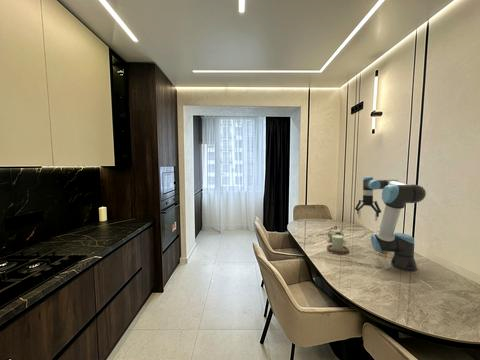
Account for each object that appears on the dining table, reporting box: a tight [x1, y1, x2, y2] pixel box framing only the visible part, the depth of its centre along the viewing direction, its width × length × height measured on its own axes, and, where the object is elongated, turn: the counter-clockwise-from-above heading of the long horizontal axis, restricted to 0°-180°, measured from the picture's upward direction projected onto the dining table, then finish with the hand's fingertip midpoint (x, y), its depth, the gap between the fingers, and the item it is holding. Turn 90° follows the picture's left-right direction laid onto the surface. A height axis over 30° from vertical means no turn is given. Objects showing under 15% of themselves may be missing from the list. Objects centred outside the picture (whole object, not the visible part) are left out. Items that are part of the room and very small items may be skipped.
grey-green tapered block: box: [331, 235, 344, 251], centre depth 193 cm, size 9×9×12 cm
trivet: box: [326, 243, 350, 255], centre depth 193 cm, size 17×17×2 cm
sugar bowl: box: [326, 225, 345, 242], centre depth 218 cm, size 20×15×15 cm
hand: (367, 219), depth 192 cm, fingers open, 13 cm apart
